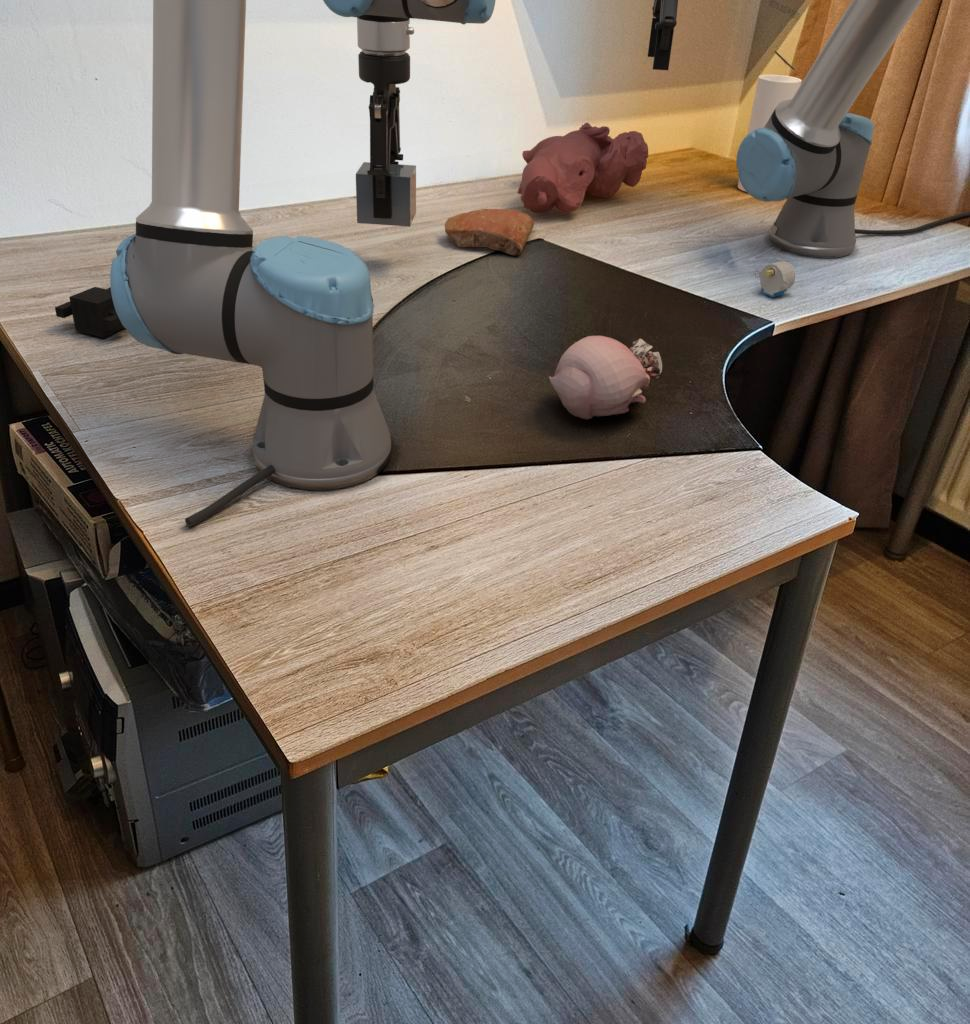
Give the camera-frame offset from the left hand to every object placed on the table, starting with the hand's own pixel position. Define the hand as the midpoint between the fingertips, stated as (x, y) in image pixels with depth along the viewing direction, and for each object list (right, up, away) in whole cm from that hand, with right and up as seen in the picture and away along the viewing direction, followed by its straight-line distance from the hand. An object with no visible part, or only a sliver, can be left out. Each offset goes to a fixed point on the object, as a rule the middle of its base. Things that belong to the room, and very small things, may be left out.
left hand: (386, 209), depth 152 cm
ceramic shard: (+16, +1, +19) cm, 25 cm away
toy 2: (+30, -35, -32) cm, 56 cm away
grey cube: (0, -1, +1) cm, 1 cm away
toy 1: (-32, -17, -10) cm, 38 cm away
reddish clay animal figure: (+33, +14, +40) cm, 54 cm away
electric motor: (+62, -13, +3) cm, 63 cm away
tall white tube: (+74, +22, +55) cm, 95 cm away
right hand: (+47, +34, +24) cm, 63 cm away
